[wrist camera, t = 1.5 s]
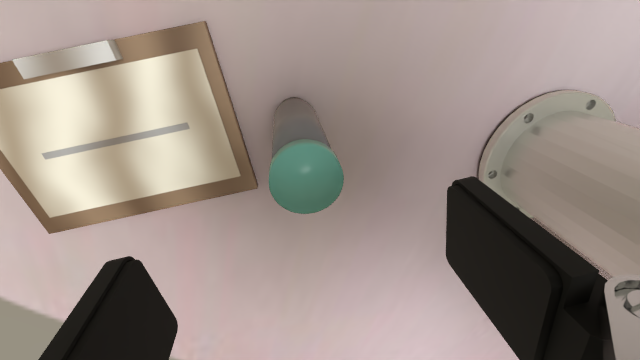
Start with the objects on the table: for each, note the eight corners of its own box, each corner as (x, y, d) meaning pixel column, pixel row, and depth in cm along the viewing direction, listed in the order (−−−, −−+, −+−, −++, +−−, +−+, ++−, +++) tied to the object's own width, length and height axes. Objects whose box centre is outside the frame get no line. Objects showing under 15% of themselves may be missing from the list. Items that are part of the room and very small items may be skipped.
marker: (310, 87, 24) (337, 139, 13) (318, 129, 25) (348, 204, 15) (267, 97, 24) (259, 156, 13) (278, 138, 25) (279, 220, 15)
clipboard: (205, 21, 21) (200, 21, 19) (257, 185, 27) (256, 193, 26) (-60, 75, 20) (-85, 79, 19) (53, 229, 27) (41, 241, 25)
